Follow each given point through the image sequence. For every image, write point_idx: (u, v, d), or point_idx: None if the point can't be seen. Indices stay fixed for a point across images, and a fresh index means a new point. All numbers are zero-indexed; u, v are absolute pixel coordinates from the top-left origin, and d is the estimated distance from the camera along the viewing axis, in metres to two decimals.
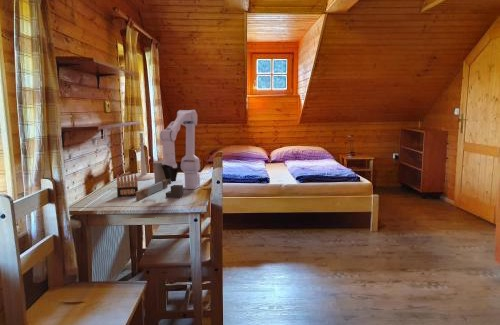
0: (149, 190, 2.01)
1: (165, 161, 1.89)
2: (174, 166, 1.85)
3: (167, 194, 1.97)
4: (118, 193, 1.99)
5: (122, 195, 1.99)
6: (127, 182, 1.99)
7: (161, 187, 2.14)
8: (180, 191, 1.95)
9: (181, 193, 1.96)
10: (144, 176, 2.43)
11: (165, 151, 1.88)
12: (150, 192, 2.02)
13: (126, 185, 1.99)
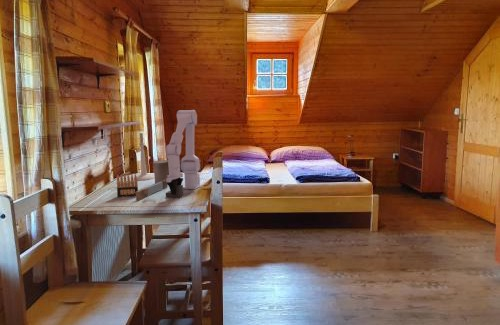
0: (149, 190, 2.01)
1: (169, 174, 1.95)
2: (167, 180, 1.89)
3: (167, 194, 1.97)
4: (118, 193, 1.99)
5: (122, 195, 1.99)
6: (127, 182, 1.99)
7: (161, 187, 2.14)
8: (180, 191, 1.95)
9: (181, 193, 1.96)
10: (144, 176, 2.43)
11: (170, 165, 1.92)
12: (150, 192, 2.02)
13: (126, 185, 1.99)
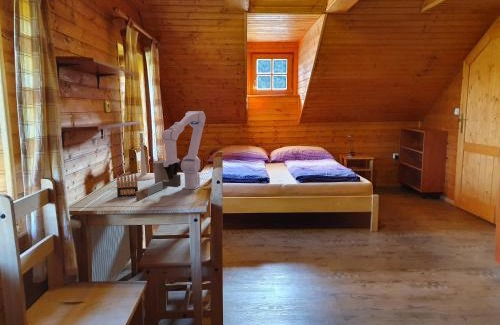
0: (149, 190, 2.01)
1: (166, 159, 2.00)
2: (164, 165, 1.94)
3: (165, 183, 2.01)
4: (118, 193, 1.99)
5: (122, 195, 1.99)
6: (127, 182, 1.99)
7: (161, 187, 2.14)
8: (178, 180, 2.00)
9: (178, 182, 2.01)
10: (144, 176, 2.43)
11: (166, 150, 1.97)
12: (150, 192, 2.02)
13: (126, 185, 1.99)
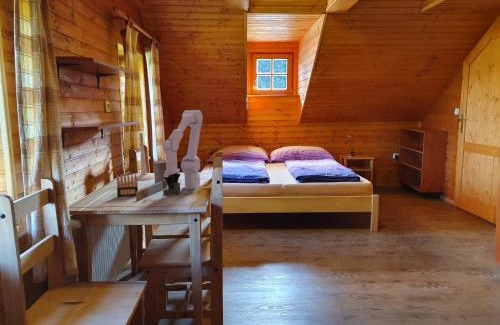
0: (149, 190, 2.01)
1: (166, 169, 2.01)
2: (164, 175, 1.95)
3: (165, 191, 2.02)
4: (118, 193, 1.99)
5: (122, 195, 1.99)
6: (127, 182, 1.99)
7: (161, 187, 2.14)
8: (177, 188, 2.01)
9: (178, 190, 2.02)
10: (144, 176, 2.43)
11: (167, 160, 1.98)
12: (150, 192, 2.02)
13: (126, 185, 1.99)
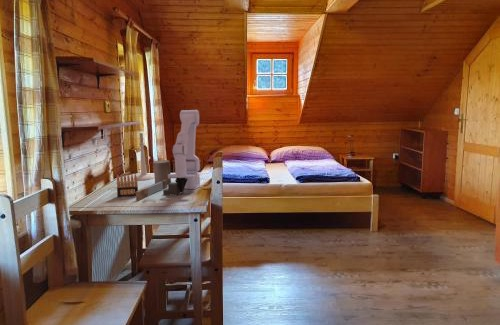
0: (149, 190, 2.01)
1: (180, 174, 1.98)
2: (193, 177, 1.98)
3: (165, 191, 2.02)
4: (118, 193, 1.99)
5: (122, 195, 1.99)
6: (127, 182, 1.99)
7: (161, 187, 2.14)
8: (177, 188, 2.01)
9: (178, 190, 2.02)
10: (144, 176, 2.43)
11: (177, 164, 1.97)
12: (150, 192, 2.02)
13: (126, 185, 1.99)
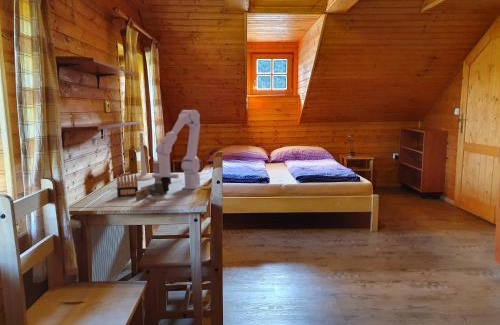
0: None
1: (164, 173, 2.00)
2: (177, 176, 2.01)
3: (151, 190, 2.05)
4: (118, 193, 1.99)
5: (122, 195, 1.99)
6: (127, 182, 1.99)
7: None
8: (163, 188, 2.03)
9: None
10: (144, 176, 2.43)
11: (159, 164, 2.00)
12: None
13: (126, 185, 1.99)
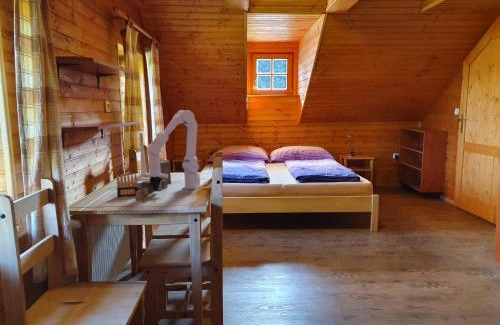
0: None
1: (154, 173, 2.02)
2: (167, 176, 2.02)
3: (139, 189, 2.09)
4: (118, 193, 1.99)
5: (122, 195, 1.99)
6: (127, 182, 1.99)
7: None
8: (149, 187, 2.06)
9: (151, 189, 2.07)
10: None
11: (149, 163, 2.03)
12: None
13: (126, 185, 1.99)
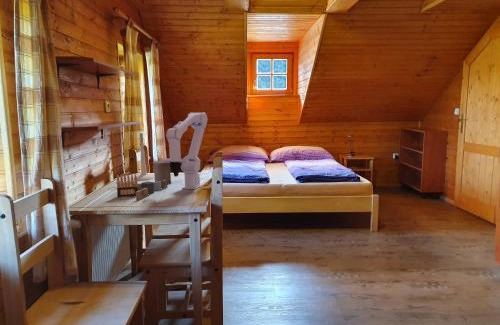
0: None
1: (175, 158, 1.99)
2: (187, 161, 2.00)
3: None
4: (118, 193, 1.99)
5: (122, 195, 1.99)
6: (127, 182, 1.99)
7: (158, 187, 2.15)
8: (149, 188, 2.04)
9: (150, 190, 2.05)
10: (144, 176, 2.43)
11: (170, 148, 1.99)
12: None
13: (126, 185, 1.99)
